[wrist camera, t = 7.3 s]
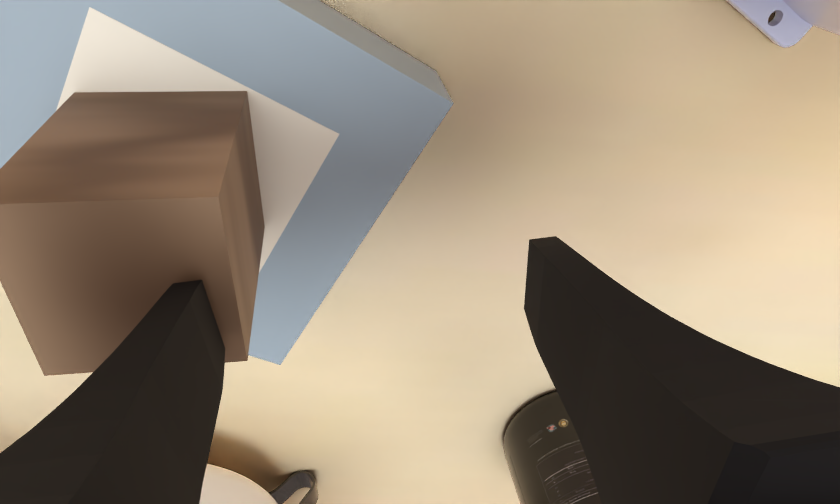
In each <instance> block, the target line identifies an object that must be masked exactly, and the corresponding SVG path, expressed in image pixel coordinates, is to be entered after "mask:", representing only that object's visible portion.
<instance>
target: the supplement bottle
mask: <svg viewBox="0 0 840 504" xmlns="http://www.w3.org/2000/svg"><path fill="white" fill-rule="evenodd" d="M504 452H505V456H506V460H507V463H508V466H509V470H510V473H511V476H512V479H513V482H514V485H515V489H516V492H517V495H518V498H519V501H520V504H602V502H601V499H600V496H599V493H598V490H597V487H596V484H595V481H594V478H593V476H592V473H591V470H590V467H589V464H588V461H587V459H586V456H585V453H584V450H583V447H582V445H581V442H580V440H579V437H578V435H577V433H576V430H575V428H574V426H573V424H572V422H571V419H570V417H569V415H568V413H567V411H566V409H565V407H564V405H563V403H562V401H561V398H560V396H559V394H558V392H557V391H556V392H552V393H549V394H546V395H544V396H542V397H540V398H538V399H536V400H534V401H532V402H531V403H529V404H528V405H526V406H525V407H524V408H523V409H521V410H520V411H519V412H518V413H517V414H516V415H515V417H514V418H513V419H512V420H511V422H510V424H509V426H508V428H507V430H506V432H505V436H504Z"/></svg>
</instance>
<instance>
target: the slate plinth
mask: <svg viewBox="0 0 840 504" xmlns="http://www.w3.org/2000/svg"><path fill="white" fill-rule="evenodd" d="M179 91H247V93H248V101H249V109H250V117H251V124H252V132H253V140H254V147H255V155H256V163H257V171H258V178H259V186H260V194H261V201H262V209H263V217H264V225H265V229H264V237H263V245H262V252H261V260H260V268H259V275H258V283H257V291H256V298H255V306H254V314H253V321H252V329H251V337H250V344H249V352H248V355H250V356H253V357H256V358H260V359H263V360H266V361H269V362H272V363H276V364H279V365H280V364H281V363H282V361H283V360H284V358H285V357H286V355H287V354H288V352H289V351H290V349H291V348H292V346H293V345H294V343H295V342H296V340H297V339H298V337H299V336H300V334H301V333H302V331H303V330H304V328H305V327H306V325H307V324H308V322H309V321H310V319H311V318H312V316H313V315H314V313H315V312H316V310H317V309H318V307H319V306H320V304H321V303H322V301H323V300H324V298H325V297H326V295H327V294H328V292H329V291H330V289H331V288H332V286H333V284H334V283H335V281H336V280H337V278H338V277H339V275H340V274H341V272H342V271H343V269H344V268H345V266H346V265H347V263H348V262H349V260H350V259H351V257H352V256H353V254H354V253H355V251H356V250H357V248H358V247H359V245H360V244H361V242H362V241H363V239H364V238H365V236H366V235H367V233H368V232H369V230H370V229H371V227H372V226H373V224H374V223H375V221H376V220H377V218H378V217H379V215H380V214H381V212H382V211H383V209H384V208H385V206H386V204H387V203H388V201H389V200H390V198H391V197H392V195H393V194H394V192H395V191H396V189H397V188H398V186H399V185H400V183H401V182H402V180H403V179H404V177H405V176H406V174H407V173H408V171H409V170H410V168H411V167H412V165H413V164H414V162H415V161H416V159H417V158H418V156H419V155H420V153H421V152H422V150H423V149H424V147H425V146H426V144H427V143H428V141H429V140H430V138H431V137H432V135H433V134H434V132H435V131H436V129H437V128H438V126H439V124H440V123H441V121H442V120H443V118H444V117H445V115H446V114H447V112H448V111H449V109H450V108H451V106H452V105H453V101H452V99H451V97H450V96H449V94H448V92H447V90H446V88H445V86H444V84H443V82H442V81H441V79H440V77H439V75H438V73H437V71H435V70H434V69H432V68H430V67H429V66H427V65H425V64H424V63H422V62H420V61H419V60H417V59H415V58H414V57H412V56H410V55H409V54H407V53H406V52H404V51H402V50H401V49H399V48H397V47H396V46H394V45H392V44H391V43H389V42H387V41H386V40H384V39H382V38H381V37H379V36H377V35H376V34H374V33H373V32H371V31H369V30H368V29H366V28H364V27H363V26H361V25H359V24H358V23H356V22H354V21H353V20H351V19H349V18H348V17H346V16H344V15H343V14H341V13H340V12H338V11H336V10H335V9H333V8H331V7H330V6H328V5H326V4H325V3H323V2H321V1H320V0H0V169H1V168H2V167H3V165H4V164H5V163H6V162H7V161H8V160H9V159H10V158H11V157H12V156H13V155H14V154H15V153H16V152H17V151H18V150H19V149H20V148H21V147H22V146H23V145H24V144H25V143H26V142H27V141H28V140H29V139H30V138H31V136H32V135H33V134H34V133H35V132H36V131H37V130H38V129H39V128H40V127H41V126H42V125H43V124H44V123H45V122H46V121H47V120H48V119H49V118H50V117H51V116H52V115H53V114H54V113H55V112H56V111H57V110H58V109H59V107H60V106H61V105H62V104H63V103H64V102H65V101H66V100H67V99H68V98H69V97H70V96H71V95H72V94H73V93H74V92H179Z"/></svg>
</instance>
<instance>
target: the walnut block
mask: <svg viewBox="0 0 840 504" xmlns="http://www.w3.org/2000/svg"><path fill="white" fill-rule="evenodd" d="M264 229H265V225H264V217H263V209H262V201H261V194H260V186H259V178H258V171H257V163H256V155H255V147H254V140H253V132H252V124H251V117H250V109H249V101H248V93H247V91H179V92H74V93H73V94H72V95H71V96H70V97H69V98H68V99H67V100H66V101H65V102H64V103H63V104H62V105H61V106H60V107H59V109H58V110H57V111H56V112H55V113H54V114H53V115H52V116H51V117H50V118H49V119H48V120H47V121H46V122H45V123H44V124H43V125H42V126H41V127H40V128H39V129H38V130H37V131H36V132H35V133H34V134H33V135H32V136H31V138H30V139H29V140H28V141H27V142H26V143H25V144H24V145H23V146H22V147H21V148H20V149H19V150H18V151H17V152H16V153H15V154H14V155H13V156H12V157H11V158H10V159H9V160H8V161H7V162H6V163H5V164H4V165H3V167H2V168H1V169H0V281H1V284H2V286H3V288H4V290H5V292H6V294H7V296H8V299H9V301H10V303H11V305H12V307H13V309H14V311H15V314H16V316H17V318H18V320H19V322H20V324H21V326H22V329H23V331H24V333H25V335H26V337H27V339H28V341H29V344H30V346H31V348H32V350H33V352H34V354H35V356H36V359H37V361H38V363H39V365H40V367H41V369H42V371H43V374H44V376H47V375H61V374H74V373H88V372H94V371H95V370H96V369H97V368H98V367H99V366H100V365H101V364H102V363H103V362H104V361H105V360H106V359H107V358H108V357H109V356H110V355H111V354H112V353H113V351H114V350H115V349H116V348H117V347H118V346H119V345H120V344H121V343H122V341H123V340H124V339H125V338H126V337H127V336H128V335H129V334H130V332H131V331H132V330H133V329H134V328H135V327H136V326H137V324H138V323H139V322H140V321H141V320H142V319H143V317H144V316H145V315H146V314H147V313H148V312H149V310H150V309H151V308H152V307H153V306H154V304H155V303H156V302H157V301H158V300H159V299H160V297H161V296H162V295H163V294H164V293H165V292H166V290H167V289H168V288H169V287H170V286H171V285H172V284H173V283H179V282H188V281H196V280H202V281H203V284H204V287H205V290H206V293H207V296H208V299H209V302H210V305H211V308H212V311H213V314H214V317H215V320H216V322H217V325H218V328H219V331H220V334H221V337H222V340H223V343H224V346H225V362H238V361H247V360H248V352H249V344H250V337H251V329H252V321H253V314H254V306H255V298H256V291H257V283H258V275H259V268H260V260H261V252H262V245H263V237H264Z"/></svg>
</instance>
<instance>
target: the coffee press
mask: <svg viewBox="0 0 840 504" xmlns="http://www.w3.org/2000/svg"><path fill="white" fill-rule="evenodd" d="M302 487H309V488H311V489H310V490H309V492H308V493H307V494H306V495H305V497H304V498H303V499H302V501H301V502H300V503H299V504H316V502H317V500H318V491H317V486H316V481H315V477H314V476H313V474H312V473H310V472H308V471H298V472H295V473H294V474H292V475H291V476H290V477H289V478H287V479H286V480H285V481H284V482H283V483H282V484H281V485H280V486H279V487H277V488H276V489H275V490H273V491H271V492H269V493H268V492H267V491H266V490H264V489H263V488H262V487H261V486H259V485H258V484H257V483H255V482H253V481H252V480H250V479H248V478H246V477H245V476H242V475H240V474H238V473H236V472H233V471H231V470H228V469H225V468H222V467H218V466H215V465H210V464H207V466H206V470H205V475H204V480H203V484H202V490H201V496H200V502H199V504H282V503H283V502H285V501H286V500H287V499H288V498H289V497H290V496H291V495H292V494H293V493H294V492H295V491H297V490H298V489H300V488H302Z"/></svg>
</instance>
